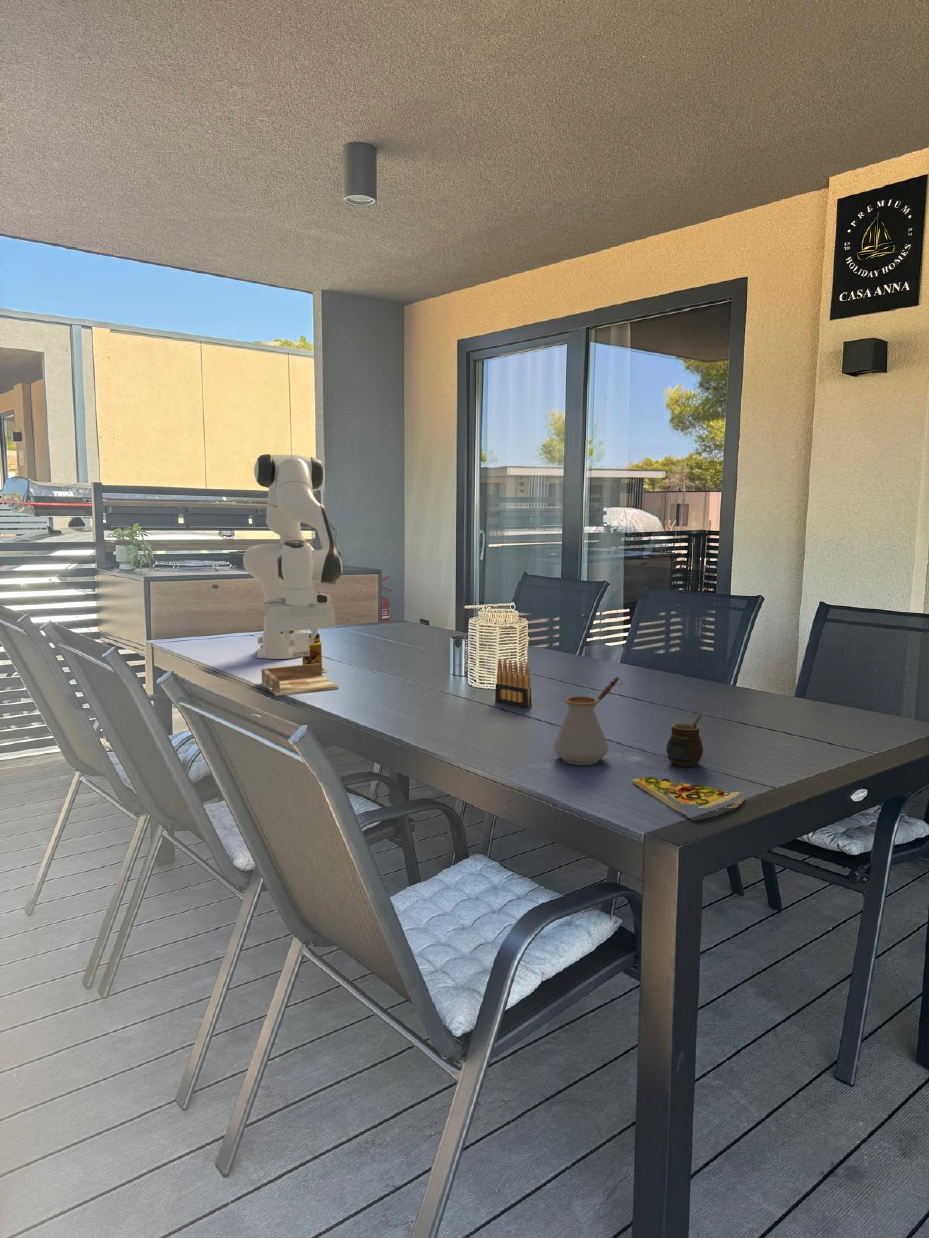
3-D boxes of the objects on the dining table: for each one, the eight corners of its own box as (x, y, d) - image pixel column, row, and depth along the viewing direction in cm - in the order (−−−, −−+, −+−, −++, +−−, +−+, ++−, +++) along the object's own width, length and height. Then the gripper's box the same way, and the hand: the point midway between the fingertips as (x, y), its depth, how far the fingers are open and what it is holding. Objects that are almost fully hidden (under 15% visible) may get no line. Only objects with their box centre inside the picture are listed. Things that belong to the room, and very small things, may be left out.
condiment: (305, 674, 262) (303, 636, 261) (297, 669, 270) (295, 632, 268) (327, 672, 266) (326, 634, 264) (319, 667, 273) (317, 630, 271)
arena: (262, 682, 251) (261, 668, 251) (321, 676, 259) (320, 663, 258) (275, 695, 235) (275, 680, 235) (338, 688, 243) (337, 674, 242)
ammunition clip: (494, 702, 226) (494, 658, 224) (499, 700, 227) (498, 657, 225) (527, 708, 219) (527, 663, 217) (531, 706, 220) (531, 661, 219)
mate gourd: (658, 762, 174) (659, 715, 173) (682, 756, 179) (684, 710, 177) (685, 771, 169) (687, 722, 167) (710, 764, 173) (712, 717, 171)
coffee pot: (589, 772, 169) (590, 699, 167) (542, 760, 176) (542, 690, 174) (641, 746, 185) (642, 680, 183) (595, 737, 192) (596, 673, 190)
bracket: (309, 655, 243) (308, 633, 242) (294, 657, 241) (293, 634, 240) (303, 652, 249) (302, 630, 248) (288, 653, 247) (287, 631, 246)
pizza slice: (701, 827, 142) (702, 810, 142) (606, 794, 158) (607, 779, 157) (751, 804, 152) (752, 788, 152) (657, 776, 168) (658, 761, 167)
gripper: (264, 601, 233) (267, 650, 235) (336, 596, 242) (337, 644, 244) (259, 598, 239) (262, 646, 241) (329, 594, 248) (331, 640, 250)
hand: (300, 645), depth 242 cm, fingers closed on bracket, 4 cm apart
